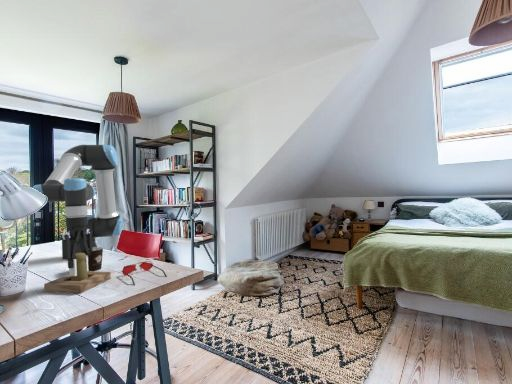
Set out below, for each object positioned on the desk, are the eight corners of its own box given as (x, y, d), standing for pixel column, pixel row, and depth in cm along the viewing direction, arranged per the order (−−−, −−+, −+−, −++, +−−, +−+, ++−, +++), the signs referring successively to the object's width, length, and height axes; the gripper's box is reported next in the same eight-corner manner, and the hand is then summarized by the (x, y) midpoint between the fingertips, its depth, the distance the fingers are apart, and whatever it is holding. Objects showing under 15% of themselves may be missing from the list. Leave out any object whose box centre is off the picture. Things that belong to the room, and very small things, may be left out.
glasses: (152, 269, 129) (152, 259, 129) (167, 277, 117) (166, 266, 117) (121, 277, 120) (120, 265, 120) (133, 286, 108) (133, 274, 108)
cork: (91, 278, 112) (90, 252, 112) (76, 283, 106) (75, 255, 106) (82, 276, 114) (80, 250, 114) (67, 281, 109) (65, 254, 109)
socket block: (78, 277, 120) (78, 270, 120) (110, 278, 117) (110, 271, 117) (44, 291, 104) (44, 283, 104) (80, 293, 101) (80, 285, 101)
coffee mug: (101, 265, 137) (100, 246, 137) (106, 269, 131) (105, 248, 131) (73, 271, 129) (72, 250, 129) (78, 275, 123) (77, 253, 123)
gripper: (86, 214, 119) (88, 266, 120) (47, 219, 101) (50, 280, 102) (101, 213, 118) (103, 266, 119) (65, 219, 100) (68, 281, 101)
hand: (79, 273), depth 110 cm, fingers closed on cork, 5 cm apart
